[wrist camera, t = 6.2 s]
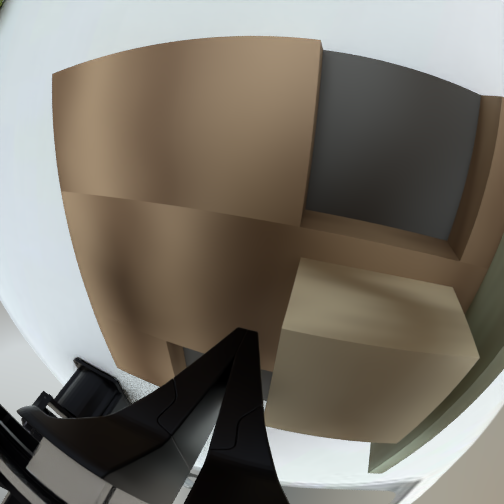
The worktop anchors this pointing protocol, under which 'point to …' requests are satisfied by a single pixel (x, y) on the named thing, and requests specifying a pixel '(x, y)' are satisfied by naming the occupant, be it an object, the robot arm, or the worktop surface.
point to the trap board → (274, 196)
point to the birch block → (365, 354)
